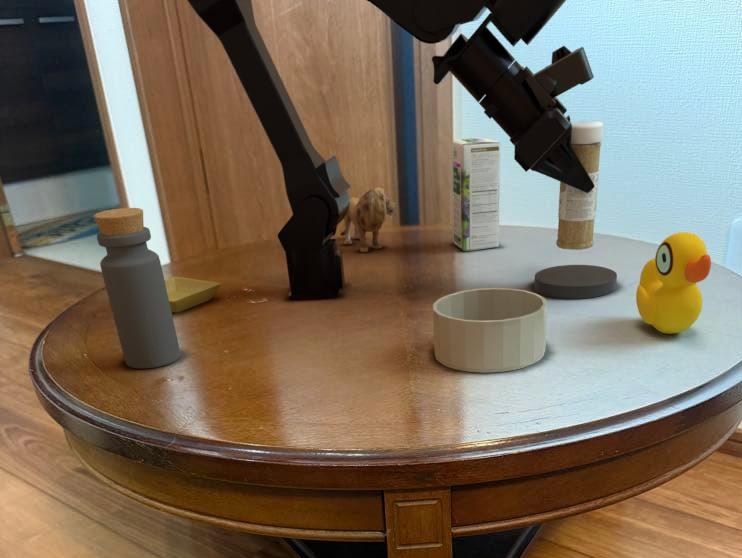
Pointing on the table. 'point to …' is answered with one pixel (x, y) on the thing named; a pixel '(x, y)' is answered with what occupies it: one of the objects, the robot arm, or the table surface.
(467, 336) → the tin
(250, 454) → the table surface
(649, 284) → the duckling
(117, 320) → the bottle
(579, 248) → the sprinkles bottle
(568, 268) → the stand
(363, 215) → the lion figurine
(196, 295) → the yellow shallow tray
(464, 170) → the syrup box
